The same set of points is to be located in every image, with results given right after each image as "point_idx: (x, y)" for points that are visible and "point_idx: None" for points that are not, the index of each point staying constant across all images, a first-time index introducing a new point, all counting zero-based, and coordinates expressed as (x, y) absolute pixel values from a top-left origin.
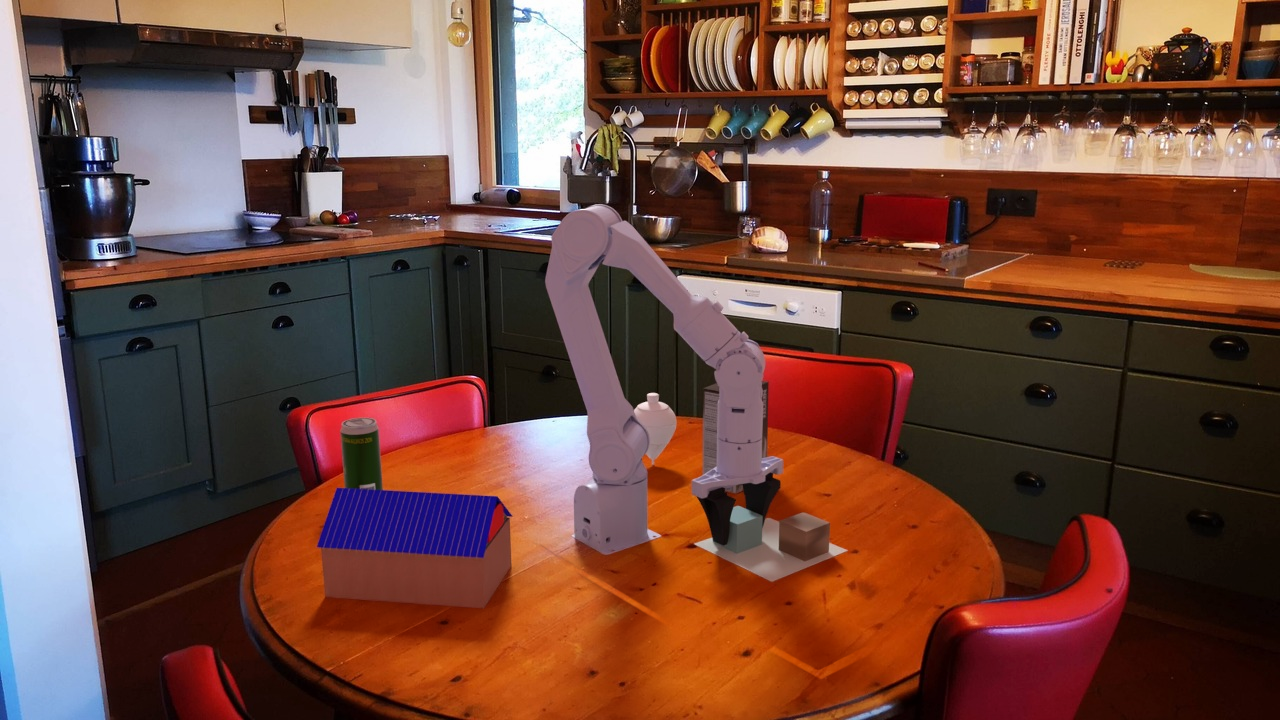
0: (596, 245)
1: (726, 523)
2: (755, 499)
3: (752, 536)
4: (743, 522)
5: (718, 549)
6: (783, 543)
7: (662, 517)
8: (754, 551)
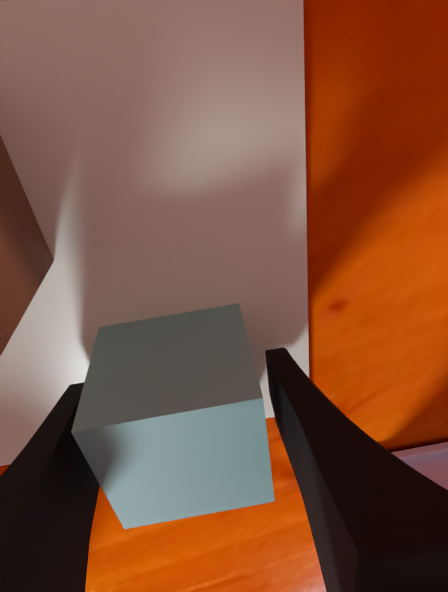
0: None
1: (324, 414)
2: (56, 547)
3: (152, 350)
4: (217, 405)
5: None
6: (29, 253)
7: (246, 537)
8: (163, 290)
